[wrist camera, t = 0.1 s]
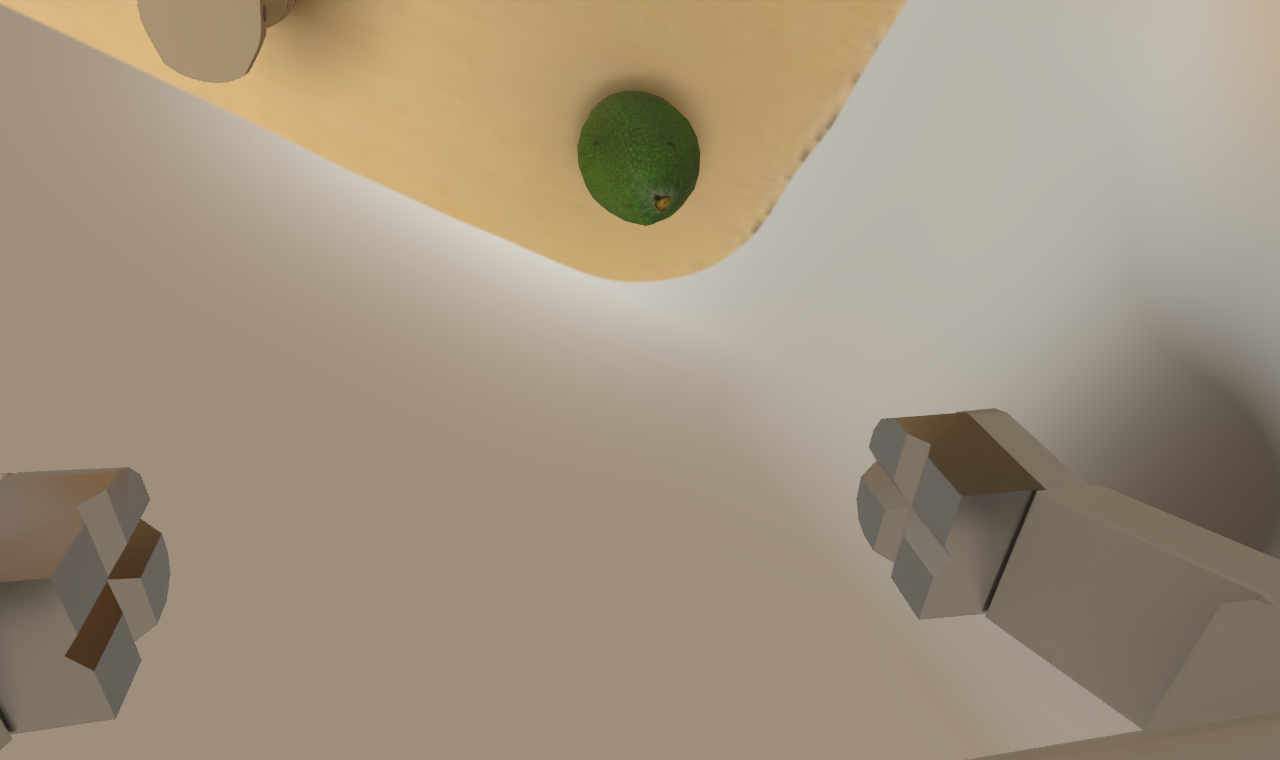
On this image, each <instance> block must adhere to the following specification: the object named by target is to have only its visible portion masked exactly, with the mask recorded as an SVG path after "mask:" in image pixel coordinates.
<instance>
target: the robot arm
mask: <svg viewBox="0 0 1280 760" xmlns="http://www.w3.org/2000/svg"><path fill="white" fill-rule="evenodd" d="M869 448H870V450H871V452H872V453H873V455H874V457H875V459H876V462H875V463H874V464H873V465H872V466H871V467H870V468H869V469H868V470H867V471H866V472H865V473H864V474H863V475H862V477H861V480H860V486H859V490H858V495H857V507H858V518H859V522H860V525H861V528H862V531H863V533H864V536H865V538H866V539H867V541H868V542H869V544H870V546H871V547H872V549H873V550H874V551H875V552H877V553H878V554H880V555H882V556H884V557H885V558H887V559H889V560H890V561H892V562H894V566H893V570H892V575H891V578H892V580H893V581H894V583H895V584H896V586H897V587H898V589H899V590H900V592H901V593H902V595H903V596H904V598H905V599H906V601H907V602H908V604H909V606H910V607H911V608H912V610H913V612H914V613H915V615H916V616H917V617H918V619H919V620H922V619H932V618H943V617H953V616H963V615H975V614H986V613H987V614H986V616H985V617H986V618H988V619H989V620H990V621H992V622H993V623H994V624H996V625H997V626H999V627H1000V628H1001V629H1003V630H1004V631H1006V632H1007V633H1008V634H1010V635H1011V636H1013V637H1014V638H1015V639H1017V640H1018V641H1020V642H1021V643H1022V644H1024V645H1025V646H1027V647H1028V648H1029V649H1031V650H1032V651H1034V652H1035V653H1036V654H1038V655H1039V656H1040V657H1042V658H1043V659H1045V660H1046V661H1048V662H1049V663H1050V664H1052V665H1053V666H1055V667H1056V668H1058V669H1059V670H1060V671H1061V672H1063V673H1064V674H1066V675H1067V676H1069V677H1070V678H1071V679H1073V680H1074V681H1075V682H1077V683H1078V684H1080V685H1081V686H1082V687H1084V688H1085V689H1087V690H1088V691H1090V692H1091V693H1092V694H1094V695H1095V696H1096V697H1098V698H1099V699H1101V700H1102V701H1103V702H1105V703H1106V704H1108V705H1109V706H1110V707H1112V708H1113V709H1115V710H1116V711H1117V712H1119V713H1120V714H1122V715H1123V716H1124V717H1126V718H1127V719H1129V720H1130V721H1131V722H1133V723H1134V724H1136V725H1137V726H1138V727H1140V728H1141V729H1142V731H1136V732H1130V733H1124V734H1118V735H1112V736H1106V737H1100V738H1093V739H1087V740H1081V741H1075V742H1069V743H1063V744H1057V745H1052V746H1045V747H1039V748H1033V749H1027V750H1021V751H1015V752H1009V753H1004V754H997V755H991V756H985V757H979V758H974V759H967V760H1280V560H1278V559H1275V558H1273V557H1271V556H1268V555H1266V554H1263V553H1261V552H1259V551H1256V550H1254V549H1252V548H1249V547H1247V546H1244V545H1242V544H1240V543H1237V542H1235V541H1232V540H1230V539H1228V538H1225V537H1223V536H1220V535H1218V534H1216V533H1213V532H1211V531H1208V530H1206V529H1203V528H1201V527H1198V526H1196V525H1194V524H1192V523H1189V522H1187V521H1184V520H1182V519H1180V518H1177V517H1175V516H1172V515H1170V514H1168V513H1165V512H1163V511H1160V510H1158V509H1156V508H1153V507H1151V506H1148V505H1146V504H1143V503H1141V502H1139V501H1136V500H1134V499H1131V498H1129V497H1127V496H1124V495H1122V494H1120V493H1117V492H1115V491H1112V490H1110V489H1108V488H1105V487H1103V486H1088V485H1087V484H1086V483H1085V482H1084V481H1082V480H1081V479H1080V478H1079V477H1078V476H1077V475H1076V474H1075V473H1074V472H1072V471H1071V470H1070V469H1069V468H1068V467H1067V466H1066V465H1065V464H1063V463H1062V462H1061V461H1060V460H1059V459H1058V458H1057V457H1056V456H1054V455H1053V454H1052V453H1051V452H1050V451H1049V450H1048V449H1047V448H1045V446H1043V445H1042V444H1041V443H1040V442H1039V441H1038V440H1037V439H1036V438H1035V437H1033V436H1032V435H1031V434H1030V433H1029V432H1028V431H1027V430H1026V429H1024V428H1023V427H1022V426H1021V425H1020V424H1019V423H1018V422H1017V421H1015V420H1014V419H1013V418H1012V417H1011V416H1010V415H1009V414H1008V413H1006V412H1003V411H1000V410H998V409H995V408H994V409H983V410H973V411H963V412H957V413H951V414H939V415H927V416H914V417H902V418H901V417H900V418H887V419H881V420H880V422H879V423H878V425H877V426H876V427H875V429H874V431H873V434H872V438H871V442H870V445H869ZM149 501H150V498H149V495H148V493H147V490H146V488H145V485H144V483H143V480H142V478H141V475H140V474H139V473H137V472H136V471H134V470H132V469H131V468H129V467H121V468H100V469H80V470H79V469H78V470H57V471H35V472H18V473H16V474H14V473H0V750H1V749H2V748H3V747H4V746H5V745H6V744H7V743H9V741H11V739H12V737H11V734H17V733H24V732H31V731H37V730H45V729H51V728H58V727H64V726H71V725H78V724H85V723H92V722H98V721H105V720H112V719H116V717H117V715H118V712H119V710H120V708H121V706H122V703H123V701H124V699H125V697H126V694H127V692H128V690H129V687H130V685H131V683H132V681H133V679H134V676H135V674H136V672H137V670H138V667H139V665H140V663H141V658H140V655H139V653H138V650H137V648H136V645H135V641H137V640H138V639H139V638H140V637H142V636H143V635H144V634H145V633H147V632H148V631H149V630H150V629H152V628H153V627H154V626H156V625H157V623H158V621H159V619H160V616H161V614H162V611H163V609H164V606H165V604H166V601H167V594H168V587H169V579H170V566H169V557H168V551H167V548H166V545H165V541H164V539H163V536H162V533H161V532H159V531H158V530H156V529H155V528H153V527H152V526H150V525H149V524H147V523H146V522H145V521H143V520H142V519H140V518H141V516H142V515H143V513H144V511H145V509H146V507H147V505H148V503H149Z"/></svg>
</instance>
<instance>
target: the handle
mask: <svg viewBox="0 0 1280 760" xmlns="http://www.w3.org/2000/svg"><path fill="white" fill-rule="evenodd" d="M295 1H296V0H137V2H138V9H139V13H140V18H141V21H142V23H143V25H144V28H145V30H146V32H147V34H148V36H149V38H150V39H151V41H152V43H153V45H154V47H155V48H156V50H157V52H158V53H159V55H160V57H161V59H162V60H163V62H164V63H165V64H166V65H168V66H169V67H170V68H172V69H173V70H175V71H177V72H178V73H180V74H182V75H184V76H187V77H189V78H192V79H196V80H200V81H205V82H215V83H220V82H230V81H233V80H236V79H238V78H240V77H242V76H244V75H246V74H247V73H248V72H249V71H250V69H251V67H252V65H253V63H254V61H255V59H256V57H257V55H258V53H259V51H260V49H261V46H262V44H263V41H264V39H265V36H266V28H268V27H270V26H273V25H275V24H277V23H278V22H280V21H281V20H282V19H284V17H285V16H286V15H287V14H288V13H289V12H290V11H291V9H292V8H293V6H294V3H295Z"/></svg>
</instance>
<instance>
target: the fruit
mask: <svg viewBox="0 0 1280 760" xmlns="http://www.w3.org/2000/svg"><path fill="white" fill-rule="evenodd" d="M578 162H579V167H580V170H581V173H582V176H583V179H584V181H585V184H586V187H587V188H588V190H589V192H590V194H591V195H592V197H593V198H594V199H595V200H596V201H597V202H598V203H599V204H600V205H601V206H603V207H604V208H605V209H606V210H607V211H609V212H611V213H612V214H614V215H616V216H617V217H619V218H621V219H623V220H625V221H628V222H632V223H636V224H641V225H645V226H646V225H651V224H654V223H656V222H659V221H661V220H663V219H666V218H668V217H670V216H671V215H673V214H674V213H675V212H676V211H677V210H678V209H679V208H680V207H681V206H682V205H683V204H684V202H685V201H686V200H687V198H688V197H689V195H690V194H691V193H692V191H693V190H694V188H695V185H696V181H697V178H698V175H699V165H700V150H699V145H698V140H697V137H696V135H695V133H694V131H693V129H692V127H691V125H690V123H689V122H688V120H687V119H686V118H685V117H684V116H683V115H682V114H681V113H680V112H679V111H678V110H676V109H675V108H674V107H673V106H672V105H670V104H669V103H668V102H667V101H666V100H664V99H663V98H660V97H657V96H655V95H652V94H650V93H647V92H637V91H623V92H620V93H616V94H613V95H610V96H608V97H607V98H606V99H604V100H603V101H601V102H600V103H599V104H598V105H597V106H596V107H595V108H594V109H593V111H592V112H591V113H590V115H589V117H588V119H587V121H586V123H585V124H584V126H583V128H582V131H581V135H580V139H579V143H578Z"/></svg>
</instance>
